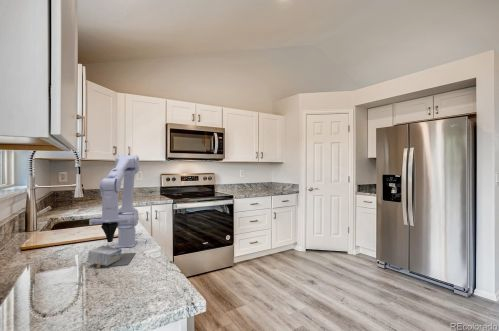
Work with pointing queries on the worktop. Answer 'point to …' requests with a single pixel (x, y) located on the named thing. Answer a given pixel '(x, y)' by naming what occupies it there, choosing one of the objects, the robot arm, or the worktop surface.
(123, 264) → the rubber mat
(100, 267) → the oak strip
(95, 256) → the medicine box
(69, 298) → the worktop surface
